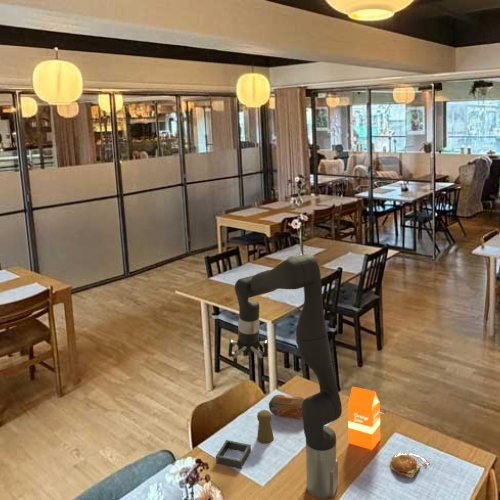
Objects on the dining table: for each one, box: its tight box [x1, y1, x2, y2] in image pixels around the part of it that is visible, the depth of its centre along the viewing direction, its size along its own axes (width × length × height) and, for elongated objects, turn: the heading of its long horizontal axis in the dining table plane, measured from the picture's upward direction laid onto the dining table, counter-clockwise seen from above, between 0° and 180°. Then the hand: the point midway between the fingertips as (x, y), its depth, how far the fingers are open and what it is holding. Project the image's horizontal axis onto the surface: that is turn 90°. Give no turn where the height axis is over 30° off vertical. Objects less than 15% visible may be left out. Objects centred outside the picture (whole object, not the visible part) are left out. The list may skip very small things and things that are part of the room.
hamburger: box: [389, 452, 430, 478], centre depth 179 cm, size 14×14×6 cm
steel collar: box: [215, 439, 252, 470], centre depth 187 cm, size 9×9×3 cm
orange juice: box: [347, 386, 381, 451], centre depth 191 cm, size 8×9×20 cm
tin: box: [268, 394, 304, 420], centre depth 208 cm, size 15×3×8 cm, turn 73°
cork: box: [256, 409, 275, 445], centre depth 195 cm, size 6×6×11 cm
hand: (247, 364), depth 200 cm, fingers open, 8 cm apart
